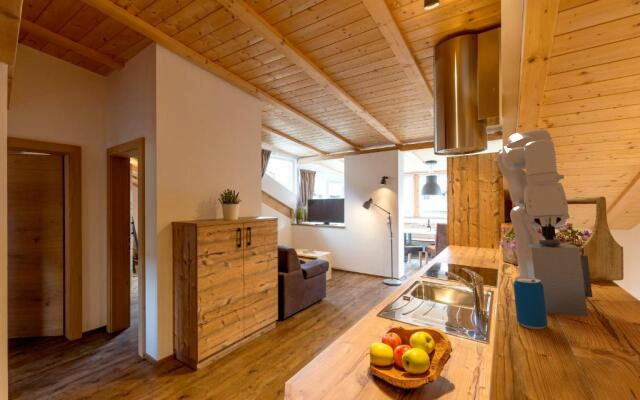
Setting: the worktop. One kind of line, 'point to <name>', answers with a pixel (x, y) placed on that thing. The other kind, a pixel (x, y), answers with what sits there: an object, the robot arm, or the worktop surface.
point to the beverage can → (530, 302)
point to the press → (560, 276)
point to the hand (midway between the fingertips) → (549, 239)
